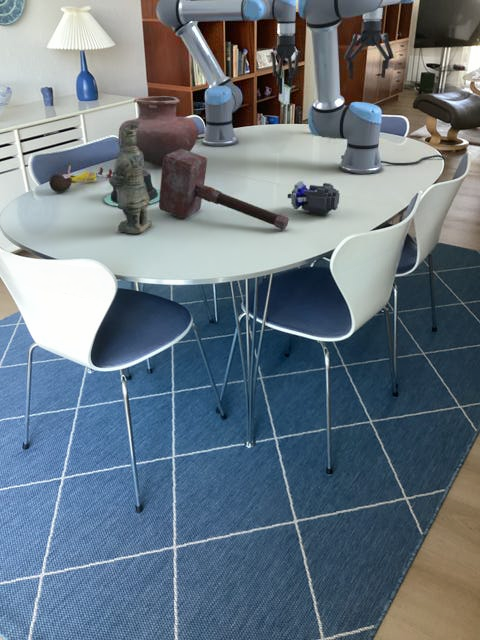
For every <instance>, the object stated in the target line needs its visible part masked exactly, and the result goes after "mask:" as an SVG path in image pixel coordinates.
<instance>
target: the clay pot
mask: <svg viewBox="0 0 480 640" xmlns="http://www.w3.org/2000/svg"><path fill="white" fill-rule="evenodd" d="M180 101H181V100H180V99H178V98H177V97H175V96H166V95H161V96H160V95H159V96H143V97H136V98H134V99H133V102H134V103H136V105H138V108H139V115H138V117H136V118H133V119H128V120H125V121H123V122H122V123H121V124H120V126H119V128H118V134H119V133H120V130H121V129H123V128H124V127H125V126H126V125H127V124H128V123H131V122H133V121H137V122H138V123H139V127H138V130H137V131H136V138H137V143H136V146H137V147H138V149H139V150H141V151H142V153H143V156H144V162H146V163H149V164H153V165H158V166H163V158H164V156H165V155H167V154H170V153H172V152H174V151H177V150H179V149H184V150H187V151H190V152H192V149H193V148H194V147H195V146H196V142H197V141H198V139H197V138H198V137H199V134H200V129H199V126H198V124H197V123H196V122H195V120H194V119H192V118H190V117H187V116H177V106H178V104H179V103H180Z"/></svg>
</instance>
